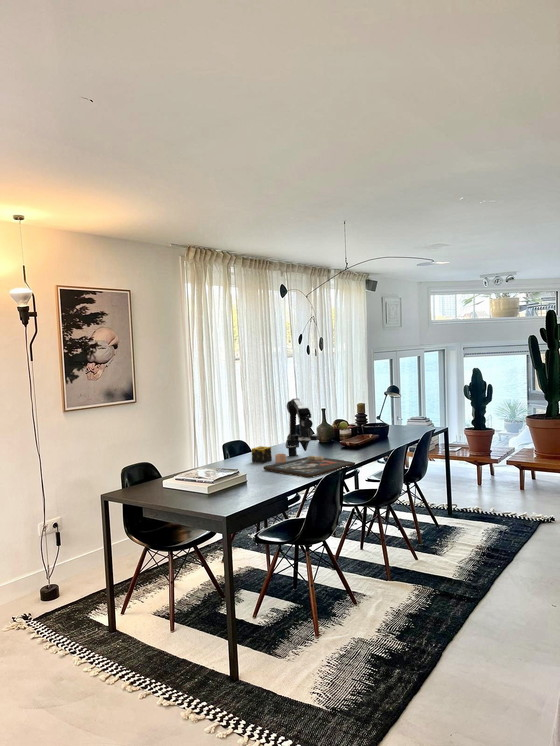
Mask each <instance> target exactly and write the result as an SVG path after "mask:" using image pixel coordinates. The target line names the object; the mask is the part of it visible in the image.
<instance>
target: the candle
mask: <svg viewBox="0 0 560 746" xmlns="http://www.w3.org/2000/svg"><path fill="white" fill-rule="evenodd" d="M271 461H273V457H272V447H271V446H261V445H259V446H257V447H253V448H251V462H252V463H255V464H265V463H268V462H271Z"/></svg>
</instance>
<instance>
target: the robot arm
mask: <svg viewBox="0 0 560 746" xmlns="http://www.w3.org/2000/svg"><path fill="white" fill-rule="evenodd" d="M286 410H287V412H288V414H289V433H288V435H287V436H286V437H287V438H286V442H285V449H287V450H288V451H287V453H288V455H289V456H288V457H290V458H291V457H293V458H295V457H298V455H299V454H297V448H300V445H301V446H302V449H303V451H304V452H306V451H307V450H308V446H309V444H310V442H311V441H315V442H316V441H318V440H320V435H319V434H313V433H314V432H313V431H312V430H310V429H312V427H313V421H312V420H311V418H312V413H311V411H310V408H309V407H308V406H306V405H303V403H302V401H301V400H300V398H292V399H290V400H289V401H288V402H287V403H286ZM297 417H298V423H299V428H298V431H299V434H297Z"/></svg>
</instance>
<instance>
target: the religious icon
mask: <svg viewBox="0 0 560 746" xmlns="http://www.w3.org/2000/svg"><path fill="white" fill-rule="evenodd" d="M323 458H324V460H323V461H308V456H305V457H301V458H297V459H292V460H288V461H287V460H286V462H282V463H274V464H269V465H265V466H263V470H265V471H270V472H274V473H279V474H284V475H289V474H292V475H291V476H295V475H297V476H296V477H301V476H302V477H303V478H307V477H312V478H314V477H313V476H315V477H318V476H317V475H319V476H322V475H325V473H326V474H330V473H332V471H333V472H336V471H338V470H337V469H339V468H342V467H346V466H350V467H353V466H355V465H356V462H355V461H351V460H350V461H348V460H343V459H337V458H329V457H323ZM346 468H347V467H346ZM335 470H336V471H335ZM339 470H340V469H339ZM321 474H322V475H321Z"/></svg>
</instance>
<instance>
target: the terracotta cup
mask: <svg viewBox="0 0 560 746" xmlns="http://www.w3.org/2000/svg"><path fill="white" fill-rule="evenodd" d="M274 455H275V456H274V457H275V458H274V459H275V464H277V463H282V462H287V454H286V453H275V454H274Z"/></svg>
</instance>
